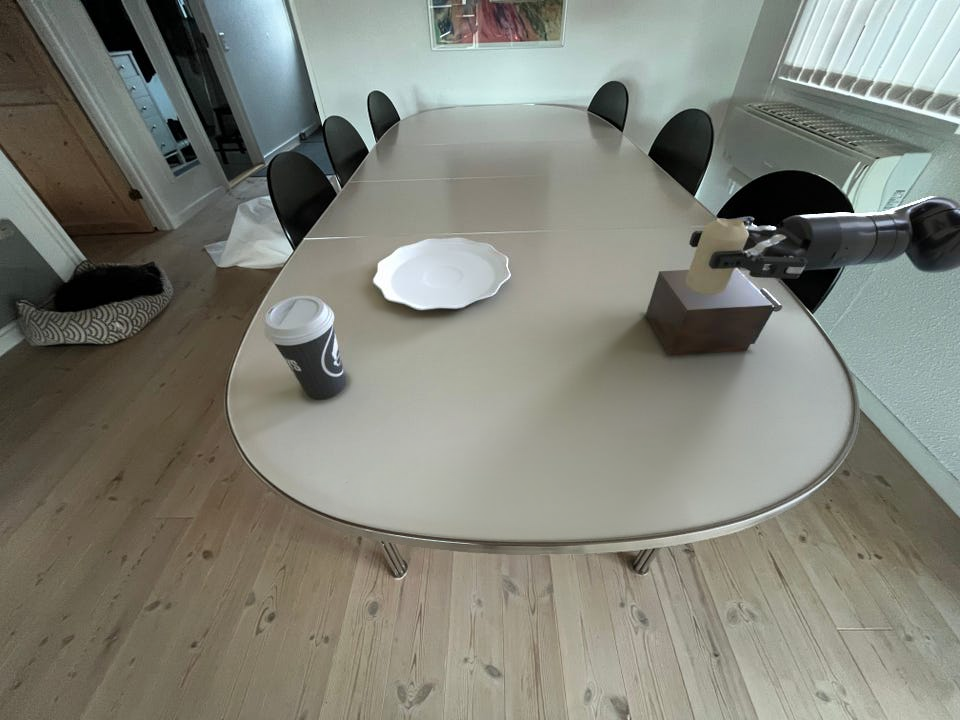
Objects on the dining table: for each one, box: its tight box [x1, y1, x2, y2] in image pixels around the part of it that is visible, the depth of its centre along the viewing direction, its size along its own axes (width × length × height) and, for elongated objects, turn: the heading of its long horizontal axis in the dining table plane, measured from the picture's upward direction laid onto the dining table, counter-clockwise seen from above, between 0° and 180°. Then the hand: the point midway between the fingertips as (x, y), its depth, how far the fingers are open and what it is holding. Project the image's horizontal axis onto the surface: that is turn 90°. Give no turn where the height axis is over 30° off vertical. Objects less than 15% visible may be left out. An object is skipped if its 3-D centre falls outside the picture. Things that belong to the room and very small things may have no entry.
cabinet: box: [645, 268, 773, 356], centre depth 71 cm, size 14×12×10 cm
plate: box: [372, 237, 511, 312], centre depth 89 cm, size 29×29×2 cm
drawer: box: [740, 272, 783, 345], centre depth 71 cm, size 16×10×8 cm, turn 93°
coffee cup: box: [263, 295, 347, 401], centre depth 62 cm, size 10×10×15 cm
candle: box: [686, 217, 749, 295], centre depth 57 cm, size 6×6×10 cm
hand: (701, 249), depth 57 cm, fingers closed on candle, 5 cm apart
